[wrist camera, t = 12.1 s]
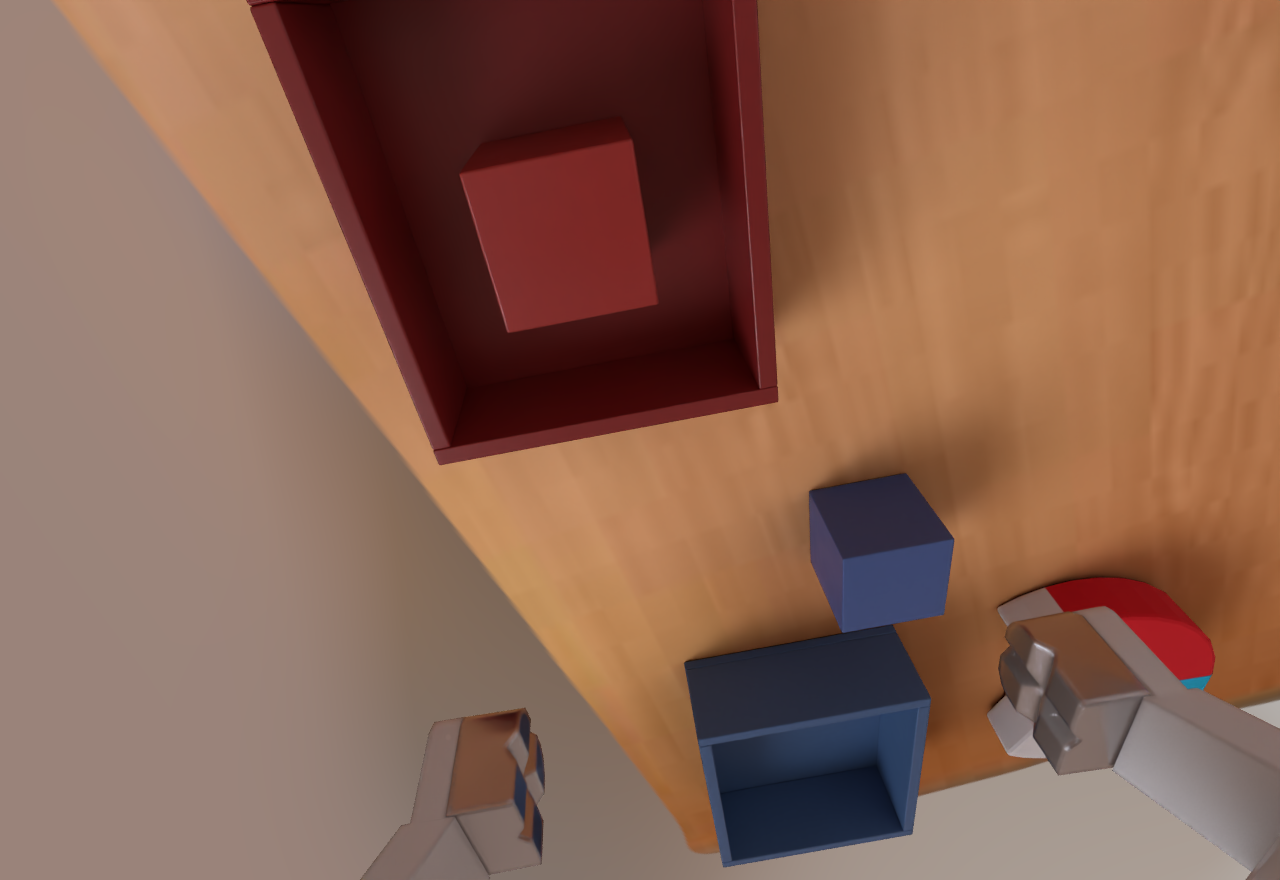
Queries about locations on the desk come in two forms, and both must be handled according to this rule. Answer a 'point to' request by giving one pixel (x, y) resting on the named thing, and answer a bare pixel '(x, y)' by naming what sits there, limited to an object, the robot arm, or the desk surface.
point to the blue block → (879, 552)
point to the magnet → (1138, 609)
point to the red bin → (523, 104)
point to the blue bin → (810, 743)
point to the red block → (562, 223)
